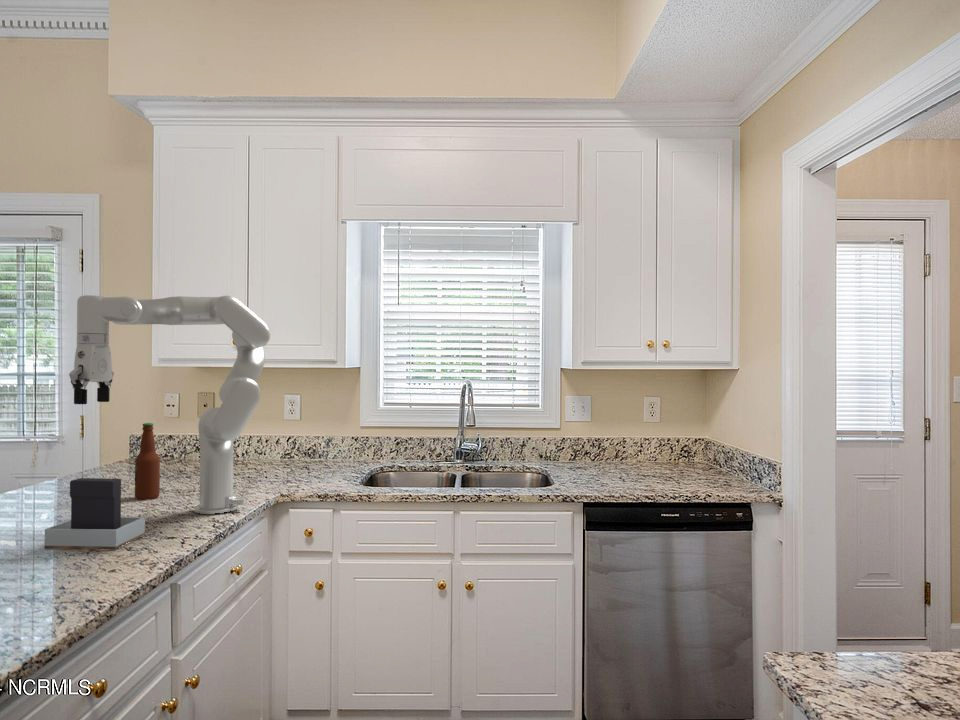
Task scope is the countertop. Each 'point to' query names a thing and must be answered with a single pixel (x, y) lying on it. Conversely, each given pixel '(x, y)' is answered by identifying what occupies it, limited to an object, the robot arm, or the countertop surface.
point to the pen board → (89, 546)
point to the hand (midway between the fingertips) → (92, 402)
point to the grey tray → (94, 534)
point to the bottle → (147, 467)
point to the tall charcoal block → (95, 503)
